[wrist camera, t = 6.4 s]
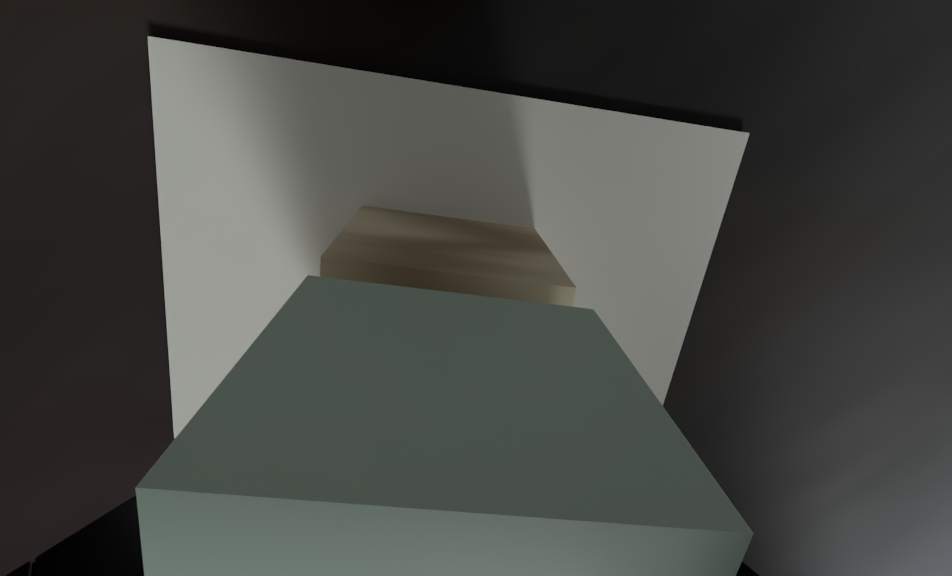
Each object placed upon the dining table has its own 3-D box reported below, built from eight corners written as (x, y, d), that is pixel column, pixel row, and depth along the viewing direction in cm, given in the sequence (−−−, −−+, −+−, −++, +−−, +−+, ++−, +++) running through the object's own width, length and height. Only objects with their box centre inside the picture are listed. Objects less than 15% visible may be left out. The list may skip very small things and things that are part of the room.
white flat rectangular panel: (743, 132, 14) (749, 133, 14) (636, 471, 18) (639, 477, 18) (154, 37, 13) (147, 36, 12) (178, 432, 17) (174, 438, 16)
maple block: (534, 228, 15) (576, 288, 10) (506, 377, 16) (530, 487, 12) (362, 205, 14) (320, 256, 9) (351, 361, 16) (310, 470, 11)
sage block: (593, 309, 9) (753, 533, 4) (540, 525, 11) (615, 857, 6) (307, 274, 8) (134, 488, 4) (299, 508, 10) (172, 856, 5)
